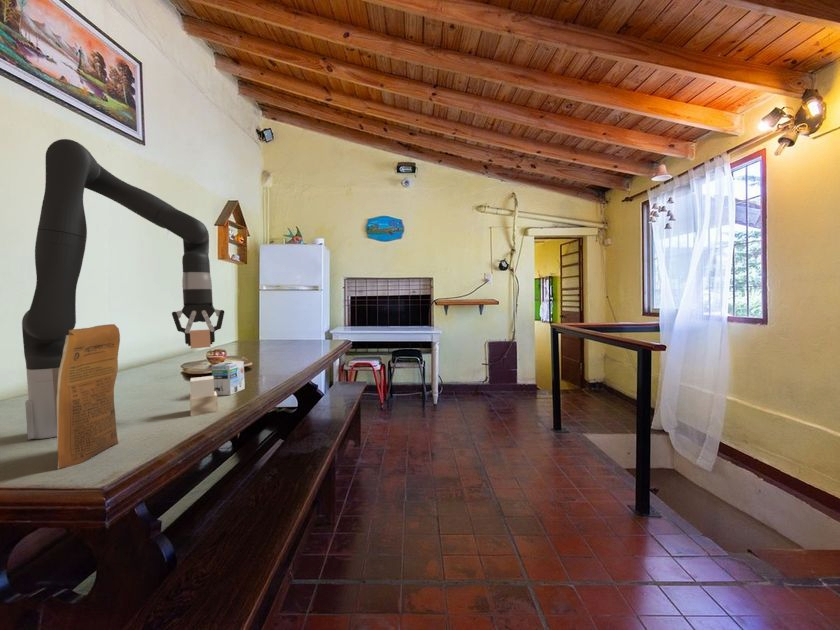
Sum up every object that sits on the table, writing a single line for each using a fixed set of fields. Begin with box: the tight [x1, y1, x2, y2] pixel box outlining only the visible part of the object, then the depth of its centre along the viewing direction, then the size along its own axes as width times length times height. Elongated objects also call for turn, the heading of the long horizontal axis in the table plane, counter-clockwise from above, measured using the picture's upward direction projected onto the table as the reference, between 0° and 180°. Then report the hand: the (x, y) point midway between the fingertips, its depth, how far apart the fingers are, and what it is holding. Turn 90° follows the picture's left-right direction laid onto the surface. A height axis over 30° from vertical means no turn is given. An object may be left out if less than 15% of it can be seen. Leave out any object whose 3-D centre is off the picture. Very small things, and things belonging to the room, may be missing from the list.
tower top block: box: [189, 375, 214, 399], centre depth 113 cm, size 6×6×5 cm
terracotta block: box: [190, 328, 212, 350], centre depth 113 cm, size 5×5×5 cm
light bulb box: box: [211, 360, 246, 396], centre depth 138 cm, size 11×7×11 cm, turn 179°
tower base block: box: [189, 391, 219, 417], centre depth 114 cm, size 7×7×5 cm
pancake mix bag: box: [56, 323, 121, 470], centre depth 82 cm, size 7×19×28 cm, turn 7°
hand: (200, 344), depth 113 cm, fingers closed on terracotta block, 5 cm apart
